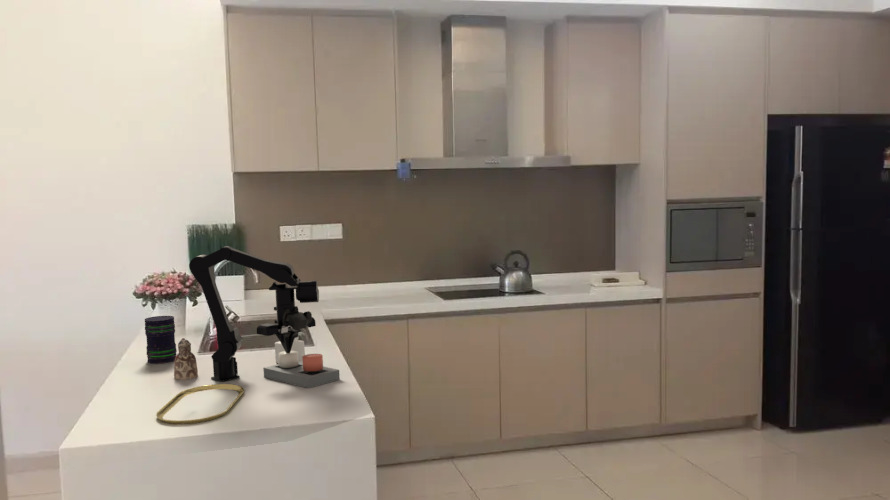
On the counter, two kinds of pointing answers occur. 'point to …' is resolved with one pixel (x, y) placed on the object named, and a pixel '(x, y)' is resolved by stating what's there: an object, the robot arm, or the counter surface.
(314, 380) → the grey holder tray
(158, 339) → the storage jar
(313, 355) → the red button
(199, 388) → the brass oval bangle
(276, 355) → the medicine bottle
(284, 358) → the white button
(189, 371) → the figurine
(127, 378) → the counter surface
